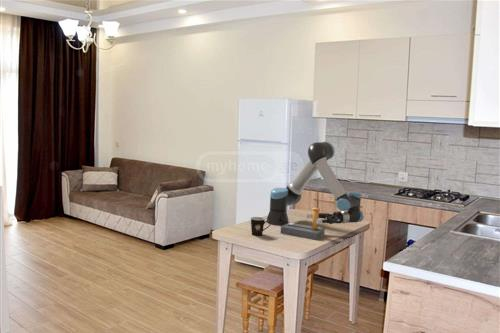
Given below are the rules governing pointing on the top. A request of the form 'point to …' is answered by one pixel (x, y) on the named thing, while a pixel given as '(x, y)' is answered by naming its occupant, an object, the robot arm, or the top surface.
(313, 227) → the switch lever
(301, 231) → the switch box
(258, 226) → the coffee mug
